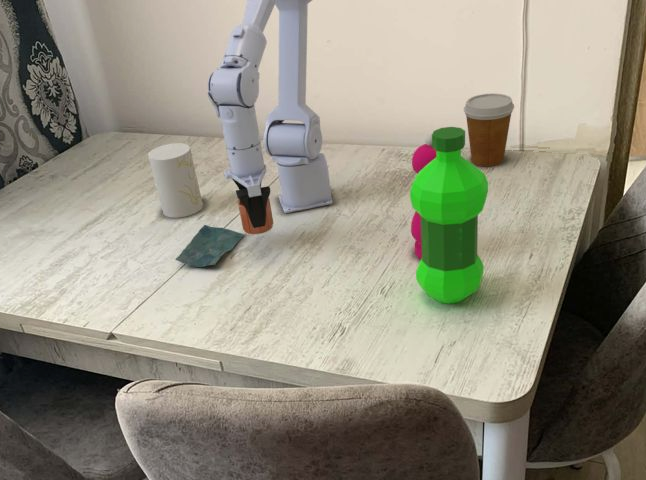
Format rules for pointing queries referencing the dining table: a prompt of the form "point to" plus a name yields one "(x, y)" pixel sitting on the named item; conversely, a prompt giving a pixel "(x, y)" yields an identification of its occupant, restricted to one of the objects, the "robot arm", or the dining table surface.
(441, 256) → the plastic bottle
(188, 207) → the white cylinder
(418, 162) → the pepper mill
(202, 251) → the terrain model
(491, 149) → the disposable coffee cup
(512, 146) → the dining table surface
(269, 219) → the faceted terracotta tumbler
